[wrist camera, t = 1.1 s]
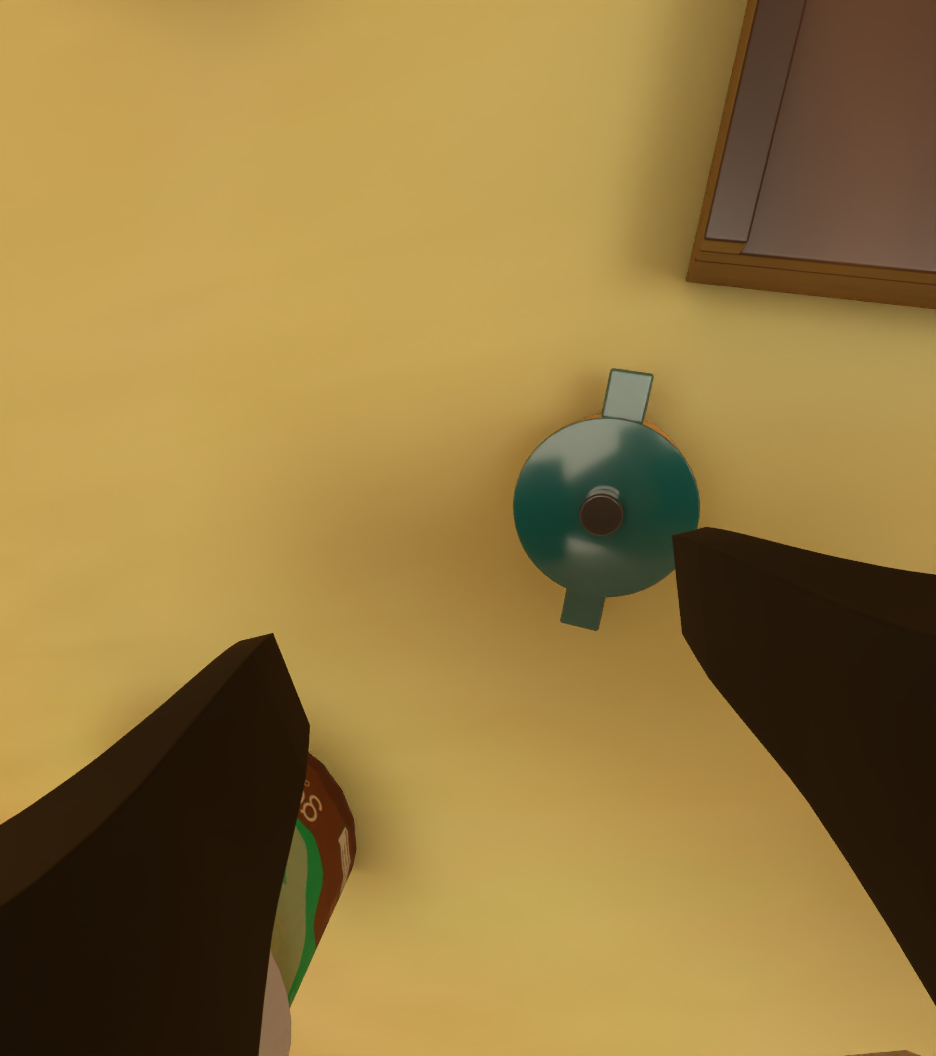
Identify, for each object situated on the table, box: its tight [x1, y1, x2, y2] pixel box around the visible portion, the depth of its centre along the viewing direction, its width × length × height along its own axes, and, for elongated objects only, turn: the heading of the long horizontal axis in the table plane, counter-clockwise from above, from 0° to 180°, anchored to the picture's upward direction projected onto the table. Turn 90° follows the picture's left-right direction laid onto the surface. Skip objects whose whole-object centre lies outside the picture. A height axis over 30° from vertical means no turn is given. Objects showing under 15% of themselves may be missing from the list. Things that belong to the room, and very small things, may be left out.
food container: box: [259, 753, 356, 1056], centre depth 24 cm, size 12×6×10 cm, turn 71°
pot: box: [513, 368, 700, 631], centre depth 19 cm, size 5×8×5 cm
